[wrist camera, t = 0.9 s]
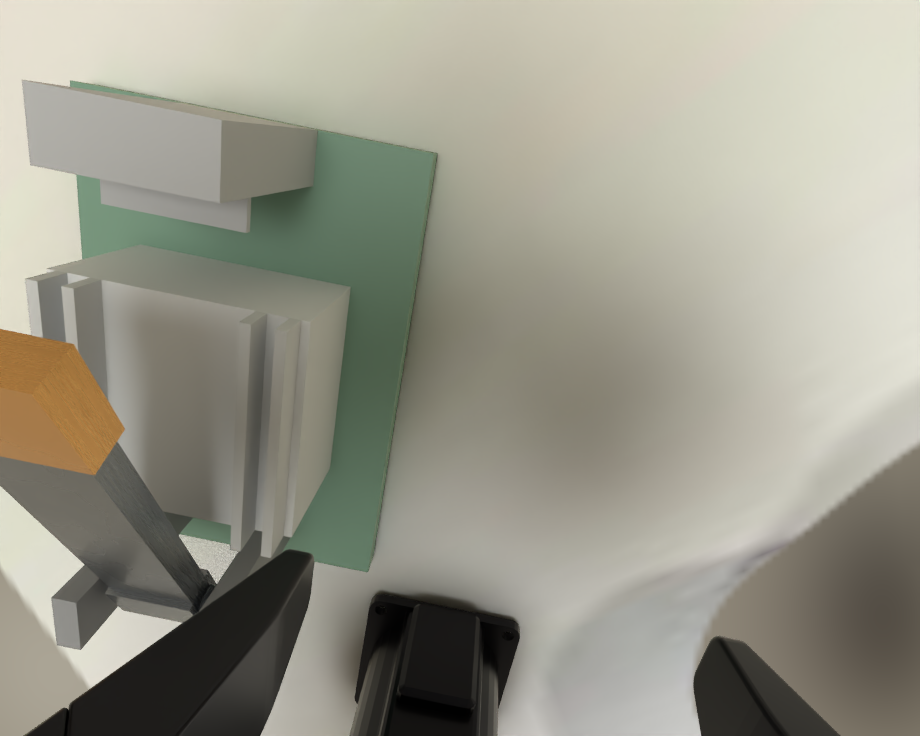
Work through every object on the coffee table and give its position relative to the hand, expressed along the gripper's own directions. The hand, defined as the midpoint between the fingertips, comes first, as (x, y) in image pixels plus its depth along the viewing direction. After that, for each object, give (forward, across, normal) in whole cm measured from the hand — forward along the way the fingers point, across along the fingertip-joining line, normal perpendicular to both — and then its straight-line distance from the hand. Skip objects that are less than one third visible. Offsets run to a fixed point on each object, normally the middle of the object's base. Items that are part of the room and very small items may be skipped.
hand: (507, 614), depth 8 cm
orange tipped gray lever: (+4, +9, +3) cm, 10 cm away
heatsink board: (+12, +9, +2) cm, 15 cm away
